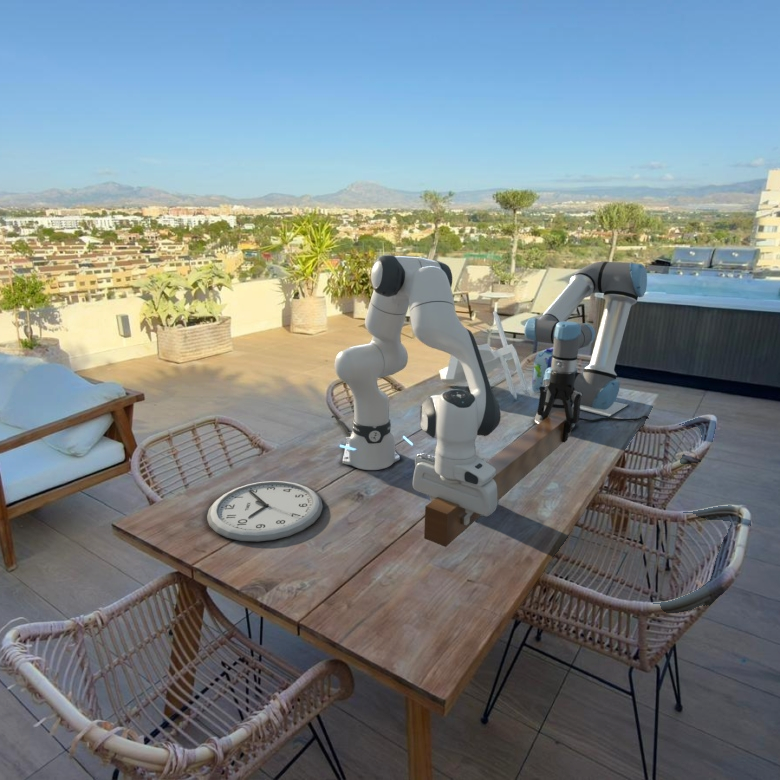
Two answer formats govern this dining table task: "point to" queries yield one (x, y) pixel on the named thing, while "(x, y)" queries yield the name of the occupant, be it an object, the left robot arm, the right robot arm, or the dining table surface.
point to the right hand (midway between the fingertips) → (555, 438)
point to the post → (498, 476)
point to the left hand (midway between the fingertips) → (451, 518)
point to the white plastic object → (488, 363)
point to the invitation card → (607, 412)
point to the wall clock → (264, 511)
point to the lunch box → (541, 368)
